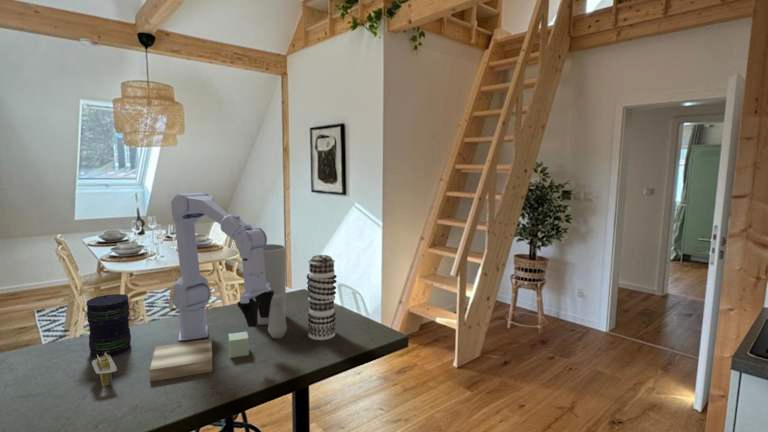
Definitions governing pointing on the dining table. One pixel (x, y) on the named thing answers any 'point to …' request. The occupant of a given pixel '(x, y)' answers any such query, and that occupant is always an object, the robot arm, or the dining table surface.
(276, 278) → the cylinder vase
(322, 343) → the dining table surface
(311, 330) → the black white patterned cylinder
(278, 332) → the salt shaker
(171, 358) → the birch base
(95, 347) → the storage jar
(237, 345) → the green cube
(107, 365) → the platform
